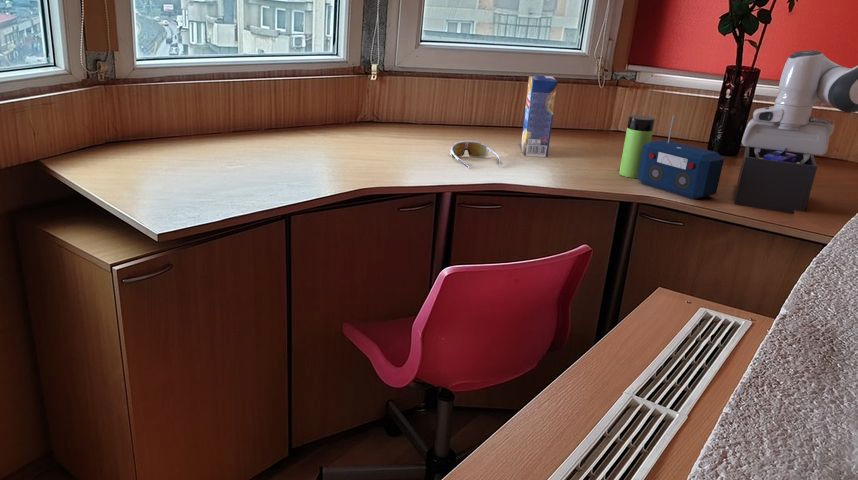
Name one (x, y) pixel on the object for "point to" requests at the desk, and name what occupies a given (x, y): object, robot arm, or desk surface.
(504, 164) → the desk surface
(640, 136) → the tumbler
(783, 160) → the ink cartridge box
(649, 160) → the radio
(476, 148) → the sunglasses
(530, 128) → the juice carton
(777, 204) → the dark grey storage bin
